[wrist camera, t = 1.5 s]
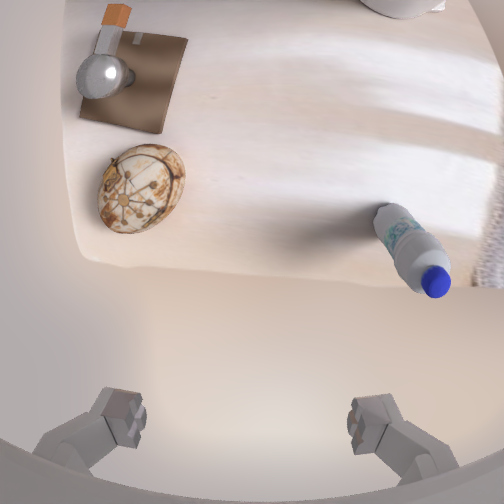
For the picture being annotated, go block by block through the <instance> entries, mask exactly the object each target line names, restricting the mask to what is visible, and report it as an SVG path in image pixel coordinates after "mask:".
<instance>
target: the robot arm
mask: <svg viewBox="0 0 504 504" xmlns="http://www.w3.org/2000/svg"><path fill="white" fill-rule="evenodd" d="M360 1H361V2H363V3H364V4H365V5H367V6H368V7H369V8H371V9H373V10H375V11H376V12H378V13H381V14H383V15H386V16H389V17H392V18H398V19H410V18H415V17H418V16H420V15H422V14H424V13H426V12H441V11H442V10H444V8H445V1H446V0H360ZM142 400H143V399H142V396H141V394H140V393H137V392H131V391H126V390H121V389H114V388H110V387H104V388H103V389H102V391H101V392H100V394H99V396H98V398H97V399H96V401H95V403H94V405H93V407H92V408H91V410H90V411H89V413H88V412H85V413H83V414H81V415H79V416H77V417H76V418H74V419H72V420H70V421H68V422H66V423H64V424H62V425H60V426H58V427H56V428H55V429H53V430H51V431H49V432H47V433H45V434H44V435H43V436H42V438H41V439H40V441H39V443H38V444H37V446H36V448H35V449H34V451H33V452H32V453H29V452H27V451H25V450H23V449H21V448H19V447H17V446H14V445H12V444H10V443H9V442H6V441H5V440H3V439H1V438H0V504H504V449H502V450H500V451H497V452H495V453H493V454H491V455H489V456H486V457H484V458H482V459H479V460H477V461H475V462H472V463H470V464H467V465H464V466H462V467H459V465H458V463H457V461H456V459H455V457H454V455H453V453H452V451H451V449H450V447H449V446H448V445H446V444H445V443H443V442H441V441H440V440H438V439H436V438H435V437H433V436H431V435H430V434H428V433H427V432H425V431H423V430H422V429H420V428H418V427H417V426H415V425H414V424H412V423H411V422H409V421H404V420H403V417H402V415H401V413H400V411H399V409H398V407H397V405H396V403H395V400H394V398H393V396H392V395H391V394H390V393H389V394H382V395H375V396H366V397H357V398H354V399H353V401H352V404H351V406H352V410H351V411H350V412H349V414H348V418H347V428H348V432H349V435H351V436H352V437H353V439H352V442H351V444H352V448H353V452H354V455H360V454H367V453H375V454H376V455H377V456H378V457H379V458H380V459H381V460H382V461H383V462H384V463H386V464H387V465H388V466H389V467H390V468H391V469H392V470H393V471H394V472H396V473H397V474H398V475H399V476H400V477H401V478H402V479H401V480H400V482H399V483H398V485H397V486H396V487H392V488H388V489H383V490H378V491H374V492H368V493H362V494H356V495H350V496H343V497H335V498H327V499H317V500H305V501H289V502H287V501H286V502H240V501H239V502H238V501H222V500H209V499H199V498H190V497H183V496H176V495H170V494H164V493H157V492H152V491H148V490H143V489H138V488H134V487H129V486H125V485H121V484H117V483H113V482H110V481H106V480H103V479H99V478H96V477H94V476H93V475H92V473H91V472H90V471H89V468H90V467H92V466H93V465H94V464H96V463H97V462H98V461H99V460H101V459H102V458H103V457H104V456H106V455H107V454H108V453H109V452H111V451H112V450H113V449H114V448H116V447H117V445H119V446H124V447H130V448H136V449H137V446H138V444H139V441H140V438H141V435H140V431H141V430H143V429H144V428H145V425H146V418H147V414H146V409H145V407H144V406H143V405H142V404H141V402H142Z"/></svg>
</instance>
